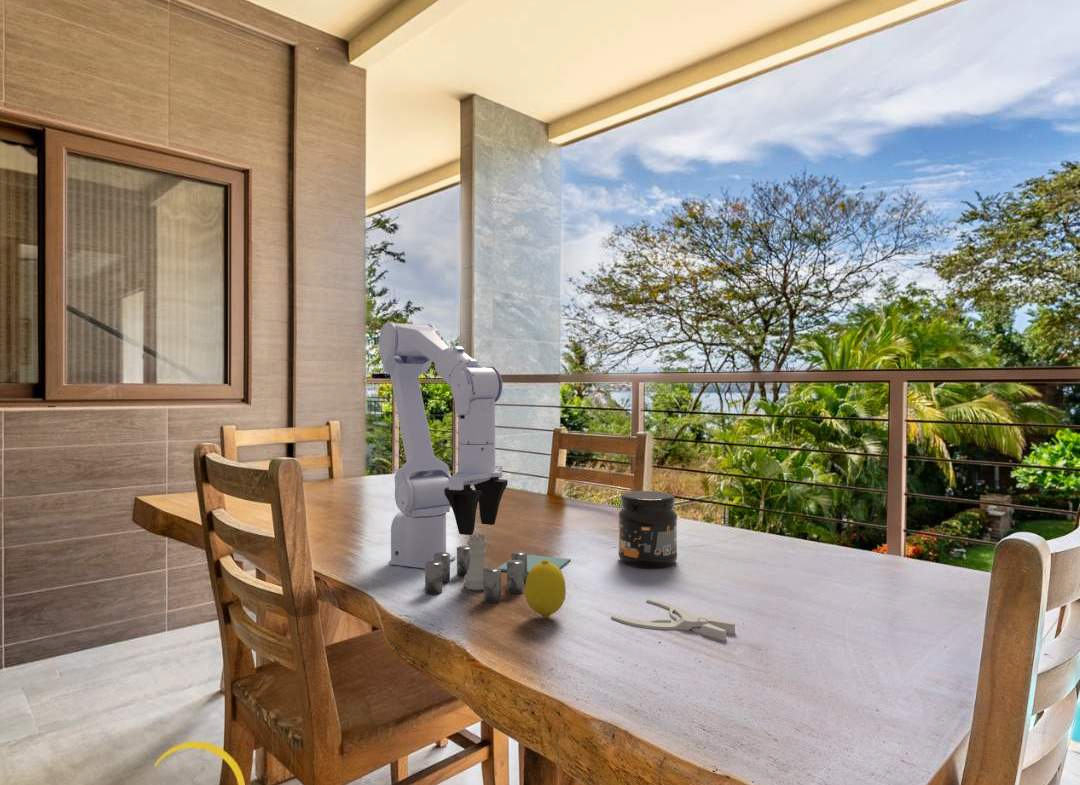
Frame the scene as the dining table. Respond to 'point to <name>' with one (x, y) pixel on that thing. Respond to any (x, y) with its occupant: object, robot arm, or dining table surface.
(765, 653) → the dining table surface
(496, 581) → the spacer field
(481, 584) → the rook chess piece
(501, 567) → the mat
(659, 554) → the supplement container
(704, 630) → the pliers
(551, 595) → the lemon
